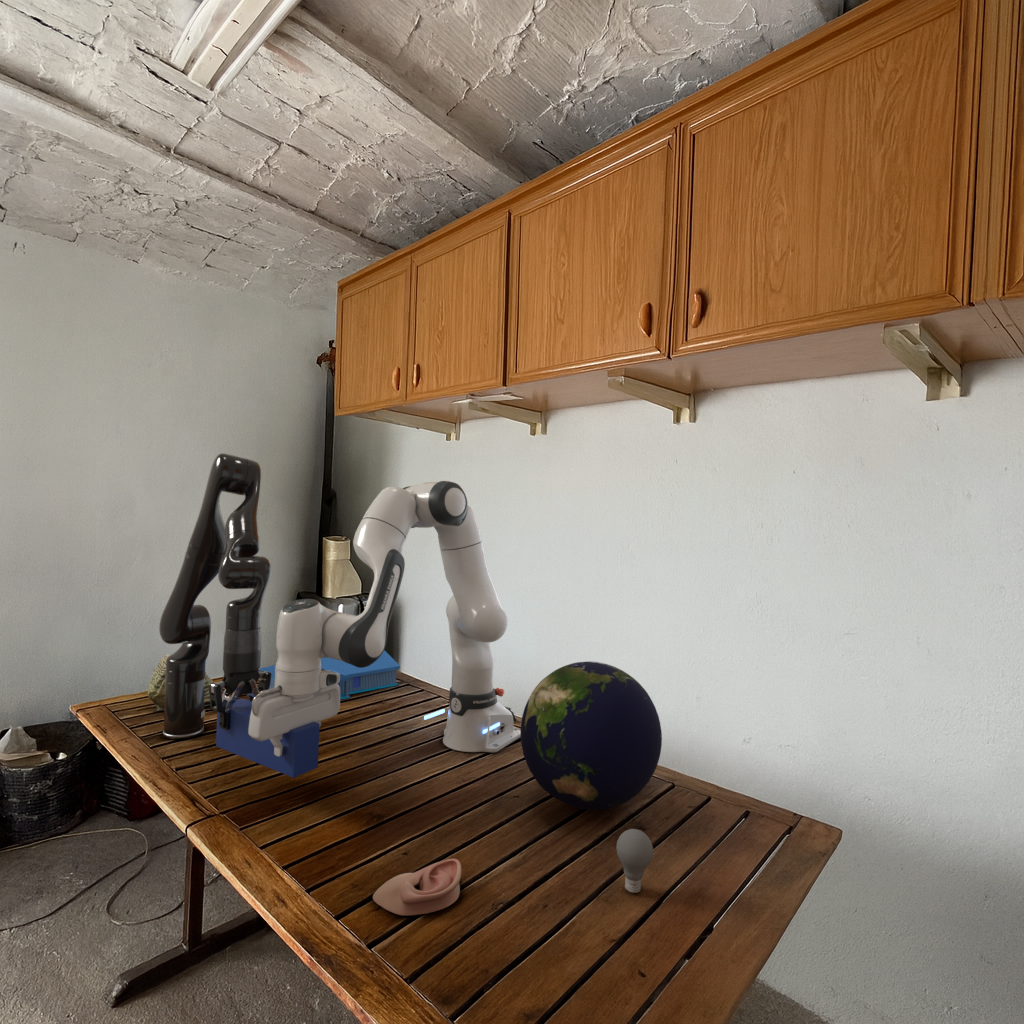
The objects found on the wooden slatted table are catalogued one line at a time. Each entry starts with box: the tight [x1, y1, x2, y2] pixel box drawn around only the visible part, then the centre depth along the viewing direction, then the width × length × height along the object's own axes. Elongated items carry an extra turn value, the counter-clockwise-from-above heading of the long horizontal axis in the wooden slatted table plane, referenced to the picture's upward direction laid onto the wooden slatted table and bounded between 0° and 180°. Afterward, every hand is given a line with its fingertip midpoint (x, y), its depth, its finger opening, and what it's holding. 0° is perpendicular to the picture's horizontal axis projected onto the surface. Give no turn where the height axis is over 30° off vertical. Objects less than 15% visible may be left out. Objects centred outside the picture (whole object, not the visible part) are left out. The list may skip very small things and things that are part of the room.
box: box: [215, 698, 321, 779], centre depth 133 cm, size 25×6×9 cm, turn 58°
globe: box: [520, 660, 663, 811], centre depth 136 cm, size 30×30×30 cm
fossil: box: [147, 654, 215, 712], centre depth 185 cm, size 9×18×15 cm, turn 132°
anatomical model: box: [372, 858, 462, 917], centre depth 102 cm, size 13×4×12 cm
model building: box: [259, 649, 401, 701], centre depth 208 cm, size 39×24×10 cm, turn 132°
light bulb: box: [615, 828, 654, 894], centre depth 106 cm, size 6×6×10 cm
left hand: (239, 724), depth 138 cm, fingers closed on box, 6 cm apart
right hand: (295, 748), depth 128 cm, fingers closed on box, 6 cm apart
